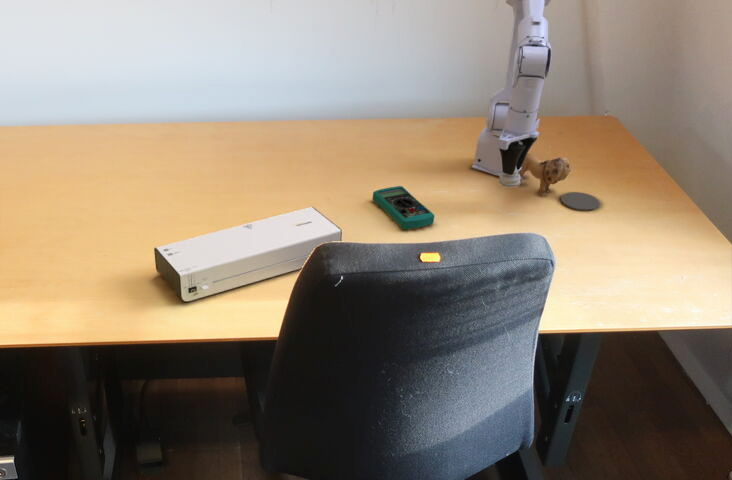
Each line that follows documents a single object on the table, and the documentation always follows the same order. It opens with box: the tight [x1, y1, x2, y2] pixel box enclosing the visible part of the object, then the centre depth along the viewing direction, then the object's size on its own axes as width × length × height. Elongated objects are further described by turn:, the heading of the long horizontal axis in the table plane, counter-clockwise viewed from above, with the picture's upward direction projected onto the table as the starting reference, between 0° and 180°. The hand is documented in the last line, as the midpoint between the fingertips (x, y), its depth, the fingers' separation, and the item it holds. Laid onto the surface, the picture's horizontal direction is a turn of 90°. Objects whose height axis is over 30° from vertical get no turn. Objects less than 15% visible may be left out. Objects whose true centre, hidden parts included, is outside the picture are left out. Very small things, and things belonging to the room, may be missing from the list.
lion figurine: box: [517, 153, 573, 197], centre depth 189 cm, size 15×5×9 cm, turn 39°
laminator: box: [153, 206, 343, 303], centre depth 162 cm, size 34×12×6 cm, turn 119°
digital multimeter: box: [372, 185, 435, 231], centre depth 180 cm, size 7×15×3 cm, turn 21°
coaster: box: [560, 191, 600, 212], centre depth 186 cm, size 8×8×1 cm
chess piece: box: [498, 140, 523, 189], centre depth 178 cm, size 4×4×10 cm
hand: (511, 170), depth 179 cm, fingers closed on chess piece, 3 cm apart
